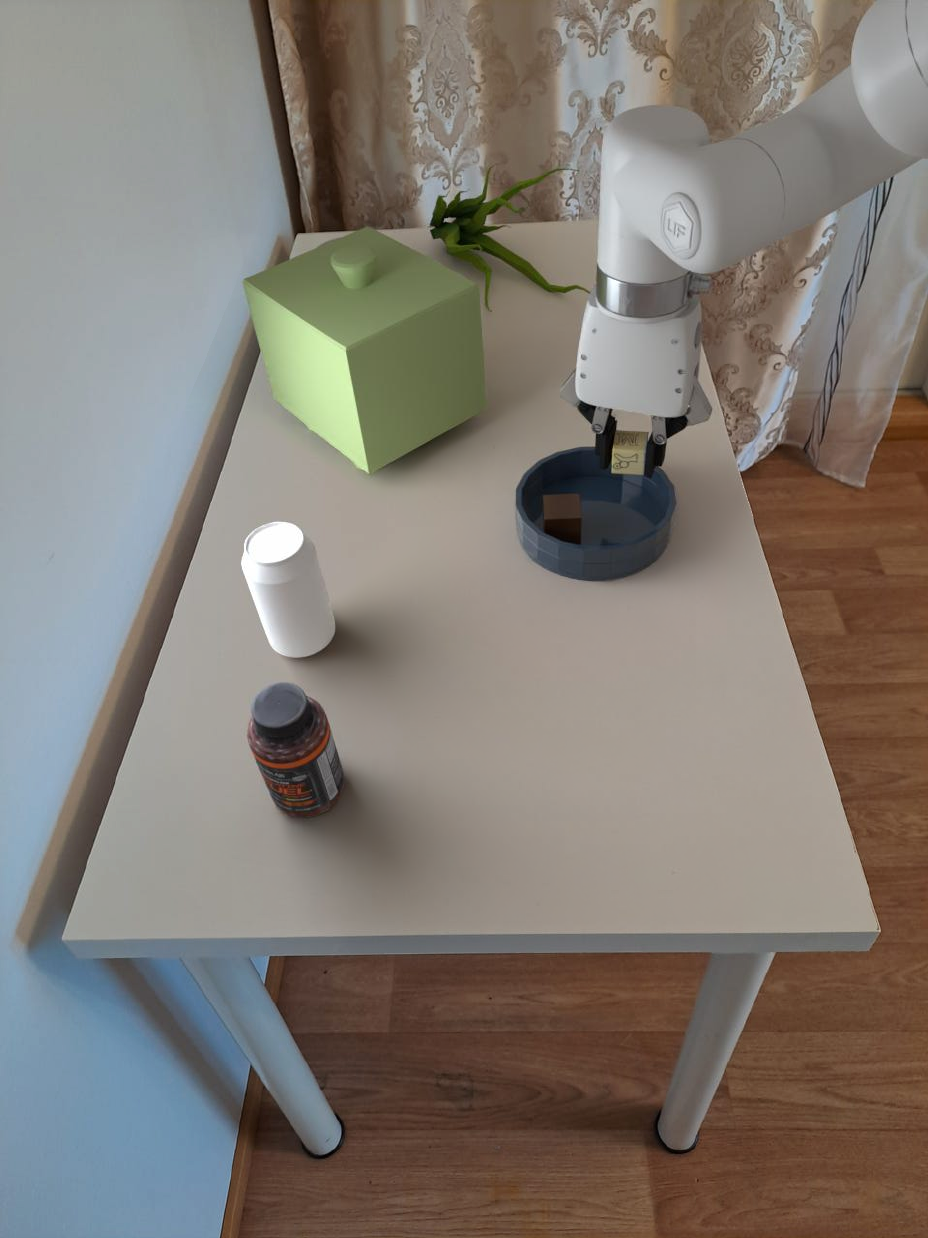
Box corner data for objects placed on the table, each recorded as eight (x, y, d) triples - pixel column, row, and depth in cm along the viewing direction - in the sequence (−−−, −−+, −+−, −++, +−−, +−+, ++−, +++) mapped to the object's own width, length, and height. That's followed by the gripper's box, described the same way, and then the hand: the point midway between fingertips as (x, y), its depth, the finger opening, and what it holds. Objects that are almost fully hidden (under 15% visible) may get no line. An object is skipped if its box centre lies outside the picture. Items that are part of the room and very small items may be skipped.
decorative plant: (471, 348, 113) (463, 233, 102) (428, 242, 133) (417, 136, 122) (610, 323, 114) (616, 207, 103) (547, 222, 134) (547, 115, 123)
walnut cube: (578, 520, 90) (579, 493, 87) (580, 544, 87) (581, 517, 85) (543, 521, 90) (543, 494, 87) (544, 546, 88) (544, 519, 85)
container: (488, 426, 102) (478, 255, 87) (372, 492, 96) (339, 320, 81) (388, 360, 112) (364, 198, 97) (278, 416, 106) (233, 252, 91)
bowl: (686, 492, 92) (691, 461, 89) (650, 596, 83) (654, 565, 80) (544, 465, 97) (543, 435, 94) (495, 561, 87) (493, 531, 84)
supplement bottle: (262, 818, 70) (223, 735, 62) (283, 753, 74) (249, 667, 66) (337, 824, 70) (307, 741, 61) (353, 759, 73) (328, 672, 65)
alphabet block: (644, 477, 85) (646, 450, 82) (610, 474, 85) (612, 448, 83) (646, 456, 86) (649, 430, 84) (613, 454, 87) (615, 428, 85)
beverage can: (304, 674, 80) (273, 579, 71) (256, 644, 82) (220, 549, 74) (351, 629, 83) (327, 533, 74) (302, 602, 86) (273, 506, 77)
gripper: (758, 272, 72) (725, 456, 86) (558, 249, 77) (556, 427, 91) (741, 320, 67) (709, 506, 81) (529, 293, 72) (533, 473, 86)
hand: (629, 463), depth 86 cm, fingers closed on alphabet block, 3 cm apart
